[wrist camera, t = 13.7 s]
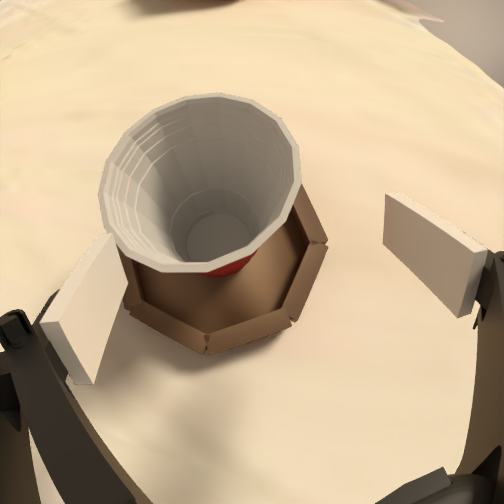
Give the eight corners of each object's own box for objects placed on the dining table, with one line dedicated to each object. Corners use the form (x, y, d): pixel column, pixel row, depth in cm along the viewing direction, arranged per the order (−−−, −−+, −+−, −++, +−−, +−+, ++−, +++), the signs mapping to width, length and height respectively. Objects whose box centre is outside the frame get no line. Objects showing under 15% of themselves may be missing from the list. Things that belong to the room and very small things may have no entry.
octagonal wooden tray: (272, 147, 31) (275, 124, 28) (344, 305, 26) (358, 298, 23) (110, 198, 29) (97, 180, 26) (153, 373, 24) (139, 375, 21)
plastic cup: (149, 199, 28) (99, 112, 16) (267, 178, 29) (274, 78, 17) (160, 319, 25) (91, 289, 13) (294, 296, 25) (329, 247, 14)
